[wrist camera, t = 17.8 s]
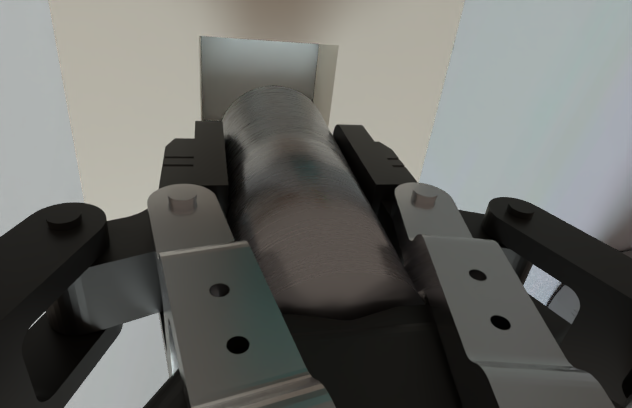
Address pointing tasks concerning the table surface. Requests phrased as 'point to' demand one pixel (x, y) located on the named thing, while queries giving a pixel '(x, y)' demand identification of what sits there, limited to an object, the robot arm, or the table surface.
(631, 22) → the table surface
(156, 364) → the table surface
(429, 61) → the board
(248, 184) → the peg
